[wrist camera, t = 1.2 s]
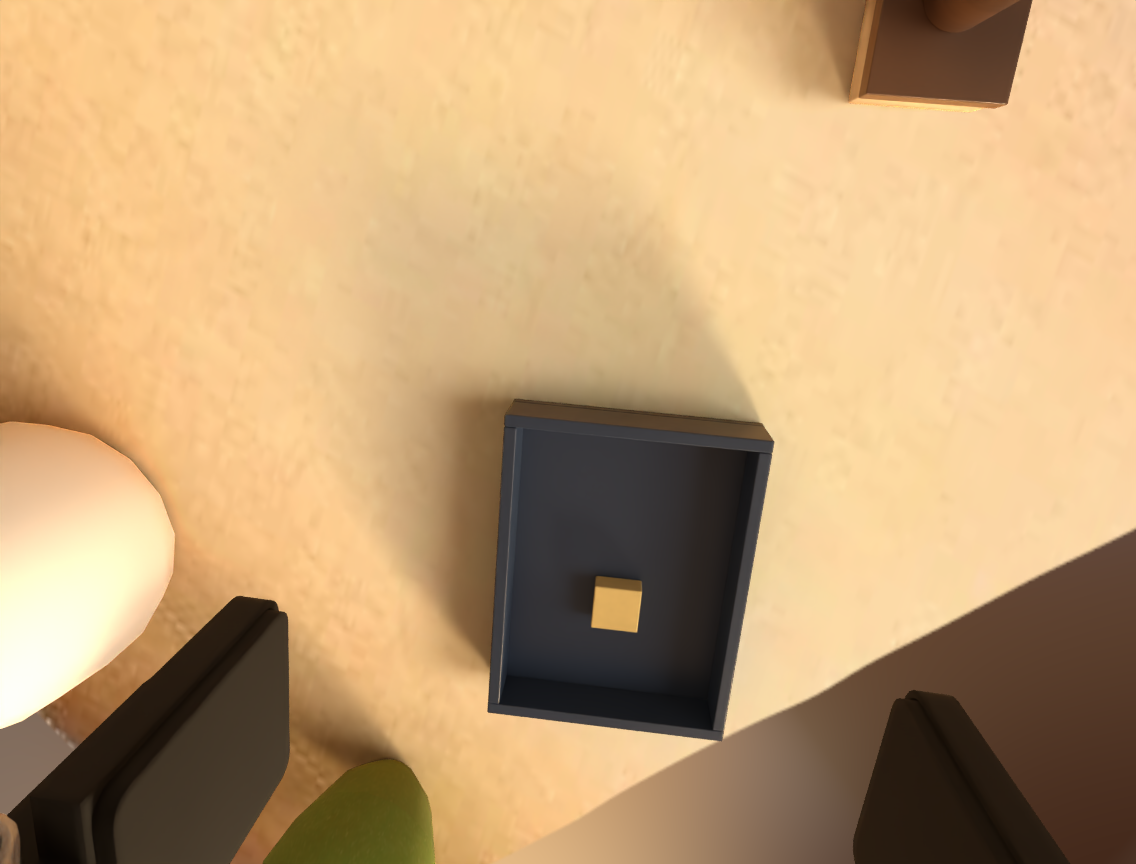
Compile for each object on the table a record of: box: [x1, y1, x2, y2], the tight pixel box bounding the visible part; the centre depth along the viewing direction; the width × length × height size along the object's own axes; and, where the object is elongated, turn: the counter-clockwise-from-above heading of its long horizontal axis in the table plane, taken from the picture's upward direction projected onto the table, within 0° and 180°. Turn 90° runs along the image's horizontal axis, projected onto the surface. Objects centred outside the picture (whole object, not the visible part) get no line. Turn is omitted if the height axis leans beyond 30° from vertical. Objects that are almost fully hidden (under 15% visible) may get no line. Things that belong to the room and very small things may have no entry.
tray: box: [488, 399, 774, 741], centre depth 35 cm, size 16×12×3 cm
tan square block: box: [591, 576, 642, 632], centre depth 36 cm, size 2×2×1 cm
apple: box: [263, 759, 435, 864], centre depth 37 cm, size 9×8×12 cm
